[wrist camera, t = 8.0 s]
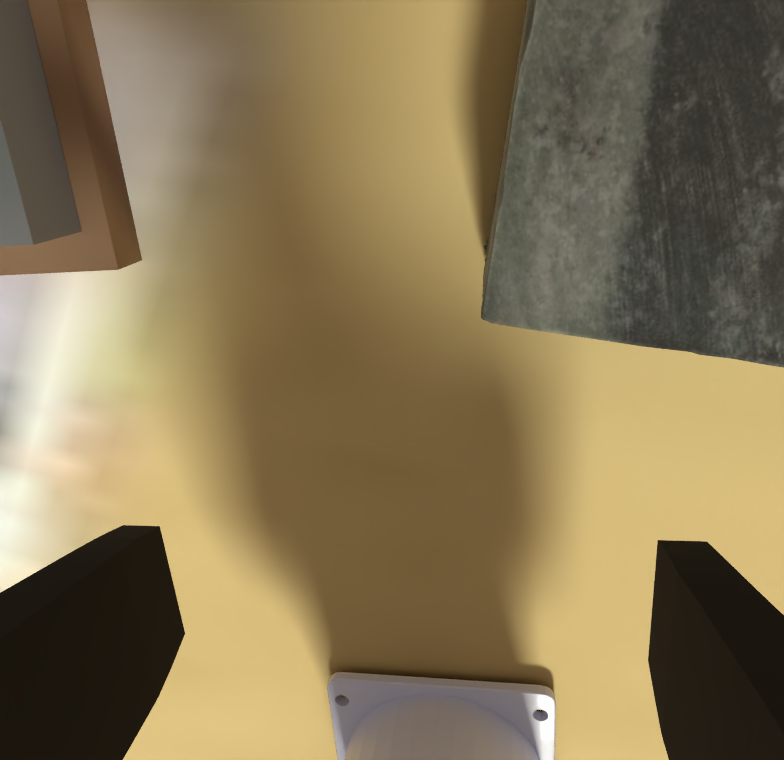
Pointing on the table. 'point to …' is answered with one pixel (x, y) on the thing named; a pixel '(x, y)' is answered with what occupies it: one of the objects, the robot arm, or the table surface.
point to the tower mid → (29, 141)
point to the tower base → (79, 151)
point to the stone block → (645, 177)
